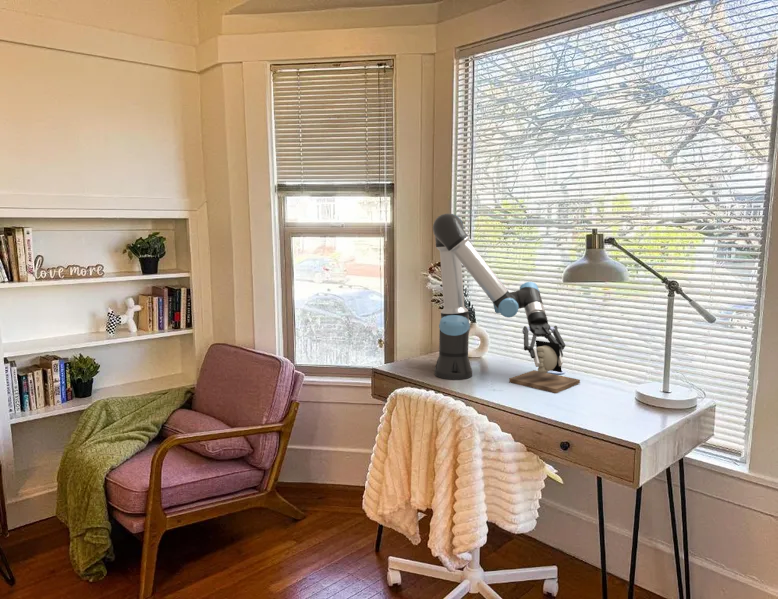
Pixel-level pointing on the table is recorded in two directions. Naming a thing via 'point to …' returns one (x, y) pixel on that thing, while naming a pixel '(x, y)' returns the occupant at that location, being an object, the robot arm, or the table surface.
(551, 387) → the walnut board
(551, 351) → the decorative object
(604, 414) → the table surface
